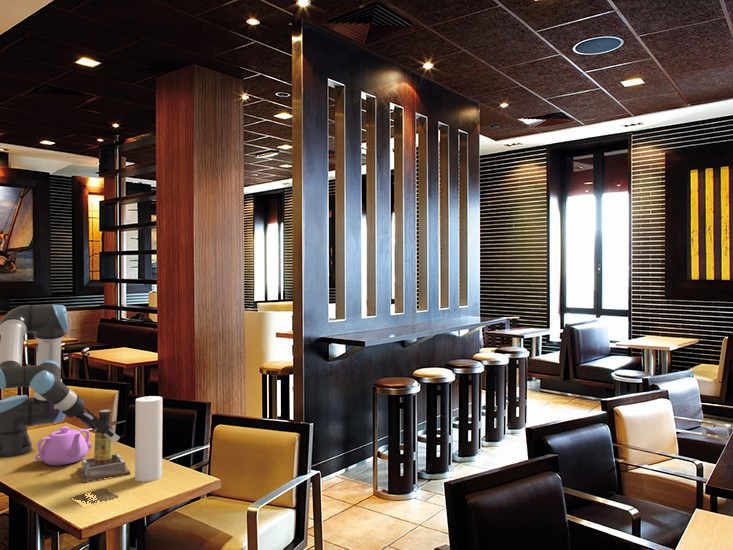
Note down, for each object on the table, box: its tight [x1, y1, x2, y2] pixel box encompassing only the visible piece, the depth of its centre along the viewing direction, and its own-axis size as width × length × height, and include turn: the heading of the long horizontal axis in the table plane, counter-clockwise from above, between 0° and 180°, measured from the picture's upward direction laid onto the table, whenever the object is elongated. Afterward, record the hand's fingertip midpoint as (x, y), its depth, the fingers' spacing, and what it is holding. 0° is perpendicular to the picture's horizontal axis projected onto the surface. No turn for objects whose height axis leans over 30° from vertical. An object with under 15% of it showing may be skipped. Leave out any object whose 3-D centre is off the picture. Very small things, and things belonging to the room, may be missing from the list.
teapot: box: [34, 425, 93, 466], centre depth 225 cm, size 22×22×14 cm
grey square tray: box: [76, 453, 131, 483], centre depth 213 cm, size 16×16×4 cm
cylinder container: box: [134, 395, 163, 483], centre depth 208 cm, size 9×9×30 cm
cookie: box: [70, 487, 120, 504], centre depth 188 cm, size 12×12×1 cm
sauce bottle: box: [93, 409, 114, 464], centre depth 213 cm, size 7×6×20 cm
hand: (113, 438), depth 215 cm, fingers closed on sauce bottle, 6 cm apart
